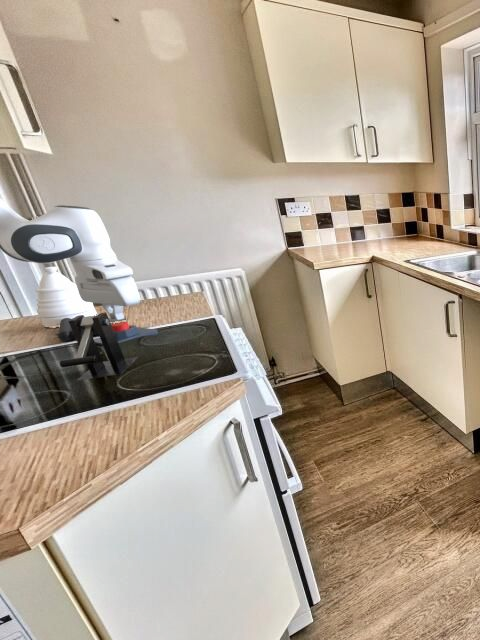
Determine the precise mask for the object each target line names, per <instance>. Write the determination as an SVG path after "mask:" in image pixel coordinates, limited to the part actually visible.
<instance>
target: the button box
mask: <svg viewBox="0 0 480 640" xmlns="http://www.w3.org/2000/svg"><path fill="white" fill-rule="evenodd" d="M129 327H130V329H127V330H123V331H117V332H114V333H115V336H116V338H117V341H118V344H120V343H124V342H128V341H130V340H134V339H138V338H141V337H146V336H154V335H159V331H158V329H156V328H149V327H141V326H137V325H134V324H131V325H130V324H129ZM93 339H94V341H95V343H96V345H100V346H103V344H102V341H101V339H100V337H97V338H93Z"/></svg>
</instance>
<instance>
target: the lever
mask: <svg viewBox="0 0 480 640" xmlns="http://www.w3.org/2000/svg"><path fill="white" fill-rule="evenodd" d="M95 316H96V315H95ZM95 316H86V317H83V319H82V322H81V325H80V326H81V327H82V328H83V330H84V333H83V336H82V339H81V342H80V346H79V345H78V349H77V352H76V356H75V357H74V358H69V359H68V358H67V359H61V360H60V361H59V366H60V367H61V368H67V367H68V368H69V367H75V366H82V365H87V364H89V363H96V362H98V357H97V356H89V357H86V354H87V350H88V347H89V344H90V340H91V337H92V334H93V332H97V329H96V327H95V324H94V322H93V319H92V318H93V317H95Z"/></svg>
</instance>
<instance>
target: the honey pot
mask: <svg viewBox="0 0 480 640" xmlns="http://www.w3.org/2000/svg"><path fill="white" fill-rule="evenodd" d="M44 270H45V271H46V272H45V273H44V274H43V275H42V276H41V278H40V281H39V284H38V287H37V288H35V290H34V291H35V292H36V293H37V299H36V302H37V304H36V306H37V309H36V313H37V314H38V319H39V320H40V322H41V324H42V326H43V325H44V326H58V325H60V322H61V320H62V319H64V318H71V319H73V318H75V317H76V316H78V315H84V317H86V316H94V315H96V314H97V315H98V313H97V309H96V308H95V306H94V303H92V302H84V301H83V300H82V299H81V297H80V295H79V292H78V289H77V286H76V282H72V281H71V280H70V279H69V278H68V277H67V276H65V275H64V274H62V273H61V272H58V271H57V270H58V268H57V266H47V267H44ZM57 324H58V325H57ZM44 326H43V327H44Z"/></svg>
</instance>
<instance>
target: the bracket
mask: <svg viewBox="0 0 480 640" xmlns="http://www.w3.org/2000/svg"><path fill="white" fill-rule="evenodd" d="M83 317H84V315H78V316H76V317H75V318H73V319H71V320H69V324H70V326H71V328H72V331H73V333H74V335H75V338H76V339H75V340H76V342H77V344H78V347H79V346H80V342H81V339H82V336H83V333H84V330H83V328H82V327H81V326H80V325H81V322H82V319H83ZM109 318H110V317H109V315H108V312H107V311H105V312H100V313H97V316H95V317H93V318H92V319H93V322H94V324H95V327H96V329H97V332H98V334H99V335H98V337H99V338H100V339H101V341H102V344H103V345H102V346H103V349H104V351H105V354H106V356H107V358H108V360H106V361H104V360H103V358H102V356H101V353H100V351H99V348H98V346H97V344H96V343H95V341H94V339H95V338H94V336H92V337H91V340H90V344H89V347H88V350H87V354H86V357H89V356H97V357H98V362H96V363H89V364H86V366H87V368H88V370H87V371H86V372H85V373H83V374H82V375H81V376H80V377H78V378H77V379H75V382H79V381H85V380H92V379H98V378H99V379H100V378H104V377H110V376H119V375H122V374H123V373H124V372H125V371H126V370H127V369H128V368H129V367H130V366H131V365H133V363H135V361H136V360H137V359H138V358H139V356H133V357H127V358H125V356H124V354H123V351H122V349H121V346H120V343H118V341H117V338H116V336H115V333H114V331H113V328H112V326H111V325H112V324H111V323H110V321H109Z"/></svg>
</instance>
